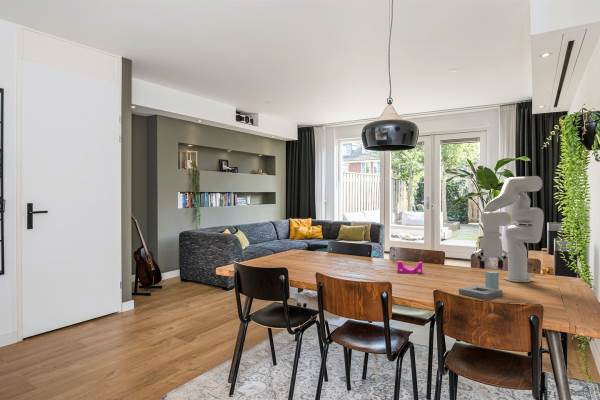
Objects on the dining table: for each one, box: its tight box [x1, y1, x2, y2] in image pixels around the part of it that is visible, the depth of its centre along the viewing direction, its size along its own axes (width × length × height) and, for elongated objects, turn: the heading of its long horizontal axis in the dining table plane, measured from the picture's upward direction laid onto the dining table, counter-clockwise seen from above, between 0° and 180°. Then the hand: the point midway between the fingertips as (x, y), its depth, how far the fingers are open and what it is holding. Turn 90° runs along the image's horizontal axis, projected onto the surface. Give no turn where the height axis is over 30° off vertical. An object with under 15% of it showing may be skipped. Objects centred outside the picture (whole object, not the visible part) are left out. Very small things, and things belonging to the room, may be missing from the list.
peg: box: [484, 270, 500, 290], centre depth 194 cm, size 4×4×9 cm
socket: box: [458, 284, 503, 300], centre depth 183 cm, size 14×14×2 cm
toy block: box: [397, 260, 423, 274], centre depth 237 cm, size 15×6×8 cm, turn 73°
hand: (491, 268), depth 193 cm, fingers open, 9 cm apart
